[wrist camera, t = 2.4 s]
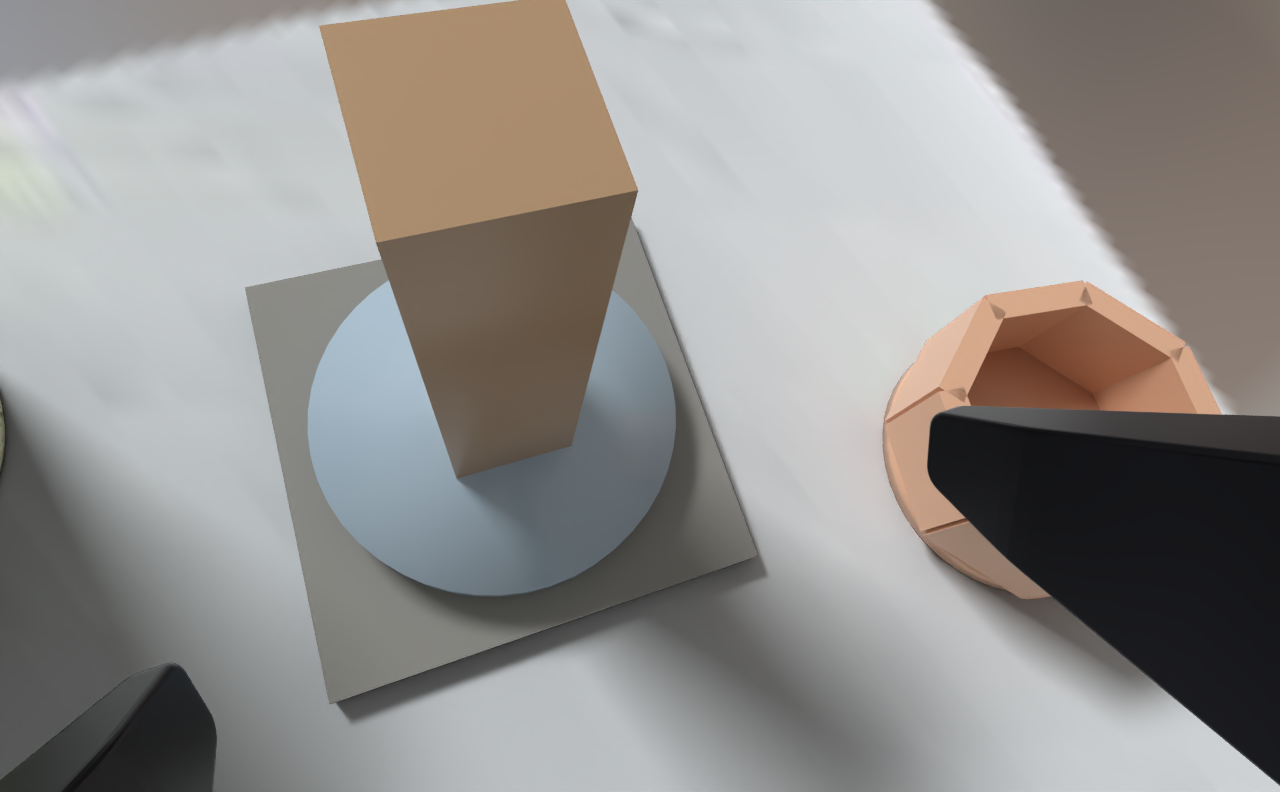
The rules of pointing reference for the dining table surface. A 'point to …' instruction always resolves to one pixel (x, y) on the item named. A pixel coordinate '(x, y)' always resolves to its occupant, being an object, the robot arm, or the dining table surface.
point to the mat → (450, 623)
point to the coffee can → (2, 435)
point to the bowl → (1027, 394)
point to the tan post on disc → (488, 309)
